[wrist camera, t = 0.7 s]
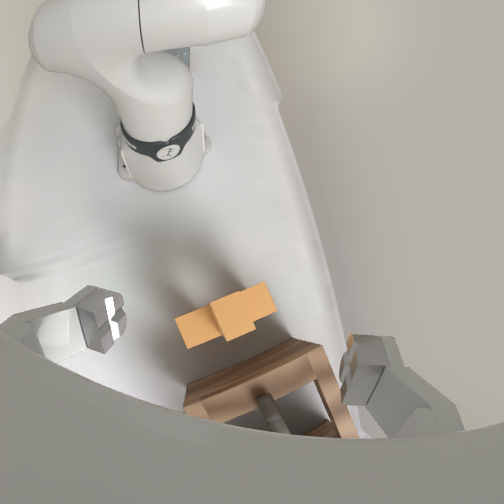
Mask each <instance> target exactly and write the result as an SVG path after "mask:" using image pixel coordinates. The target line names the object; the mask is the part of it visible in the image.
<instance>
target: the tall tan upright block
mask: <svg viewBox="0 0 504 504" xmlns="http://www.w3.org/2000/svg"><path fill="white" fill-rule="evenodd" d="M276 311H277V309H276V307H275V304H274V302H273V300H272V297H271V295H270V293H269V290H268V288H267V286H266V283H265V281H264V282H262V283H260V284H257V285H255V286H253V287H250V288H248V289H246V290H243V291H241V292H240V291H237V292H235V293H232V294H230V295H227V296H225V297H223V298H220V299H218V300H215V301H213V302H210V304H209V305H207V306H205V307H202V308H200V309H197V310H195V311H192V312H190V313H187V314H185V315H182V316H180V317H177V318H175V321H176V323H177V326H178V328H179V330H180V333H181V335H182V337H183V340H184V342H185V344H186V346H187V349H189V348H192V347H194V346H197V345H199V344H202V343H204V342H206V341H209V340H211V339H214V338H216V337H219V336H221V335H222V336H223V337H224V338H225V340H226V341H230V340H232V339H234V338H237V337H239V336H241V335H244V334H246V333H248V332H251V331H253V330H255V329H256V327H255V325H254V323H253V322H254V321H256V320H258V319H260V318H263V317H265V316H267V315H269V314H271V313H274V312H276Z"/></svg>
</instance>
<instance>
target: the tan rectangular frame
mask: <svg viewBox="0 0 504 504" xmlns="http://www.w3.org/2000/svg"><path fill="white" fill-rule="evenodd" d="M312 381H314V383H315V385H316V387H317V390H318V392H319V394H320V397H321V399H322V401H323V404H324V406H325V409H326V411H327V413H328V416H329V418H330V420H331V422H330V421H329V420H328V421H326V422H325V423H323V424H321V425H319V426H317V427H315V428H314V429H312V430H310V431H308V432H306V433H304V434H302V435H301V436H312V437H326V438H350V439H359V436H358V434H357V431H356V428H355V426H354V423H353V421H352V418H351V416H350V413H349V410H348V408H347V405H343V404H341V393H340V388H339V385H338V383H337V380H336V378H335V375H334V373H333V370H332V368H331V365H330V363H329V360H328V358H327V356H326V353H325V351H324V348H323V346H322V345H319V344H315V343H311V342H307V341H303V340H299V339H295V338H293V339H290V340H288V341H286V342H284V343H282V344H280V345H278V346H276V347H274V348H272V349H270V350H267V351H265V352H263V353H261V354H259V355H257V356H254V357H252V358H250V359H248V360H245V361H243V362H241V363H238V364H236V365H234V366H231V367H229V368H227V369H224V370H222V371H220V372H217V373H215V374H212V375H210V376H207V377H205V378H202V379H200V380H197V381H194V382H192V383H189V384H188V385H187V390H186V395H185V400H184V404H183V409H184V411H185V412H186V414H188V415H192V416H196V417H200V418H204V419H208V420H212V421H216V422H221V423H224V422H226V421H229V420H231V419H233V418H236V417H238V416H241V415H243V414H245V413H248V412H250V411H252V410H255V409H257V408H259V407H260V408H261V410H262V412H263V414H264V416H265V418H266V420H267V422H268V424H269V426H270V428H271V430H272V432H276V433H284V434H290V432H289V430H288V428H287V426H286V424H285V422H284V420H283V417H282V415H281V413H280V411H279V409H278V407H277V405H276V403H275V401H274V400H276V399H278V398H281V397H283V396H285V395H287V394H289V393H291V392H293V391H295V390H297V389H299V388H300V387H302V386H304V385H306V384H308V383H310V382H312Z"/></svg>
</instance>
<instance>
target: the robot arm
mask: <svg viewBox="0 0 504 504" xmlns="http://www.w3.org/2000/svg"><path fill="white" fill-rule="evenodd" d="M265 7H266V0H47V1H46V2H44V3H43V4H42V5H41V6H40V7H39V9H38V10H37V12H36V13H35V15H34V17H33V20H32V23H31V26H30V30H29V47H30V50H31V53H32V55H33V57H34V59H35V60H36V62H37V63H38V64H39V65H40V66H41V67H43V68H44V69H46V70H47V71H49V72H57V73H65V74H70V75H73V76H77V77H80V78H82V79H84V80H87V81H88V82H90V83H92V84H94V85H95V86H97V87H99V88H100V89H101V90H103V91H104V92H105V93H106V94H107V95H108V96H109V97H110V98H111V100H112V101H113V103H114V105H115V107H116V109H117V112H118V114H119V116H120V118H119V126H116V127H115V132H116V136H117V137H118V157H119V174H120V177H121V178H124V179H128V180H134V181H136V182H137V183H139V184H140V185H142V186H143V187H145V188H148V189H151V190H156V191H167V190H172V189H175V188H178V187H180V186H182V185H184V184H186V183H187V182H188V181H190V180H191V179H192V178H193V177H194V176H195V174H196V173H197V171H198V170H199V168H200V165H201V162H202V158H203V156H204V155H205V154H206V153H207V151H208V150H209V149H210V147H211V141H210V139H209V138H208V136H207V135H206V134H205V132H204V130H203V124H202V123H200V122H199V120H198V119H197V118H196V111H195V106H194V103H193V78H192V75H191V72H190V70H189V68H188V67H187V66H186V65H185V64H184V63H183V62H182V61H181V60H180V59H179V58H177V57H176V56H174V55H172V54H169V53H167V52H163V51H162V50H169V49H176V48H185V47H194V46H206V45H210V44H214V43H219V42H224V41H228V40H233V39H237V38H242V37H245V36H247V35H248V34H249V33H251V32H252V31H253V30H254V28H255V27H256V26H257V25H258V23H259V22H260V20H261V18H262V17H263V14H264V11H265ZM124 166H126V167H125V168H123V167H124ZM123 305H124V301H123V296H122V295H121V294H120V293H117V292H113V291H109V290H106V289H102V288H99V287H95V286H91V285H87V286H86V287H85V288H83V289H82V290H80V291H79V292H78V293H76V294H75V295H74V296H72V297H71V298H70V299H68V300H67V301H66V302H64V303H62V302H60V303H56V304H52V305H48V306H44V307H40V308H36V309H33V310H29V311H25V312H21V313H17V314H14V315H12V316H11V317H10V318H8V319H7V320H6V321H4V322H3V323H2V324H0V504H504V422H502V423H498V424H494V425H489V426H485V427H480V428H475V429H470V430H465V429H464V426H463V423H462V421H461V418H460V415H459V413H458V410H457V408H456V405H455V404H454V403H453V402H451V401H450V400H449V399H448V398H446V397H445V396H444V395H443V394H442V393H440V392H439V391H438V390H437V389H435V388H434V387H433V386H432V385H430V384H429V383H428V382H427V381H425V380H424V379H423V378H422V377H420V376H419V375H418V374H417V373H415V372H414V371H413V370H412V369H410V368H409V367H405V366H404V363H403V360H402V358H401V355H400V352H399V349H398V346H397V344H396V341H395V338H394V337H392V336H373V335H360V334H350V336H349V338H348V341H347V350H348V351H346V352H345V353H344V354H343V356H342V359H341V364H340V369H339V379H340V381H341V382H342V383H343V384H342V387H341V389H340V393H341V404H343V405H355V406H366V409H367V410H368V411H369V412H370V414H371V415H372V416H373V418H374V419H375V421H376V422H377V423H378V425H379V426H380V427H381V428H382V430H383V431H384V432H385V434H386V435H387V436H388V438H387V439H386V438H385V439H383V438H382V439H350V438H326V437H312V436H301V435H292V434H284V433H276V432H269V431H263V430H257V429H251V428H245V427H240V426H235V425H230V424H225V423H221V422H216V421H212V420H208V419H204V418H200V417H196V416H192V415H188V414H185V413H181V412H178V411H174V410H171V409H168V408H164V407H161V406H158V405H155V404H152V403H149V402H146V401H143V400H140V399H137V398H135V397H132V396H129V395H126V394H124V393H121V392H119V391H116V390H114V389H111V388H109V387H106V386H104V385H101V384H99V383H97V382H94V381H92V380H90V379H88V378H86V377H83V376H81V375H79V374H77V373H75V372H73V371H71V370H69V369H67V368H65V367H63V366H61V365H59V364H57V363H59V362H61V361H63V360H65V359H67V358H69V357H71V356H73V355H76V354H78V353H80V352H82V351H84V350H86V349H87V348H89V349H92V350H95V351H98V352H101V353H103V354H105V353H106V352H107V351H108V350H109V348H110V347H111V346H112V345H113V344H114V339H115V338H118V337H120V336H121V335H122V334H123V333H124V330H125V327H126V320H127V319H126V314H125V312H124V311H123V310H122V306H123Z"/></svg>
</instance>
